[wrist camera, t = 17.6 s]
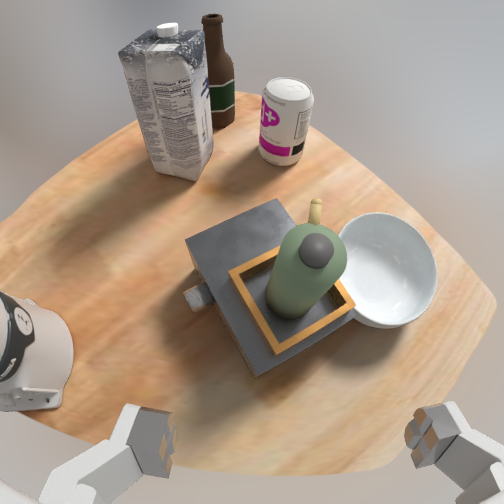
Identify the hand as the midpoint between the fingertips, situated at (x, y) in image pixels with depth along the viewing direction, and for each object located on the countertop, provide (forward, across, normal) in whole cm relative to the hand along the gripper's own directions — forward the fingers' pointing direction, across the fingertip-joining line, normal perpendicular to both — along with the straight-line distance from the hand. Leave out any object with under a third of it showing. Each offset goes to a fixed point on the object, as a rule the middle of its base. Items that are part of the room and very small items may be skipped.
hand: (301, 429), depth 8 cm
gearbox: (+31, +1, +13) cm, 34 cm away
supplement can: (+52, -2, -8) cm, 53 cm away
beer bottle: (+59, +10, -14) cm, 62 cm away
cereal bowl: (+35, -17, +10) cm, 40 cm away
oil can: (+25, -3, +7) cm, 26 cm away
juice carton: (+50, +15, -5) cm, 52 cm away
